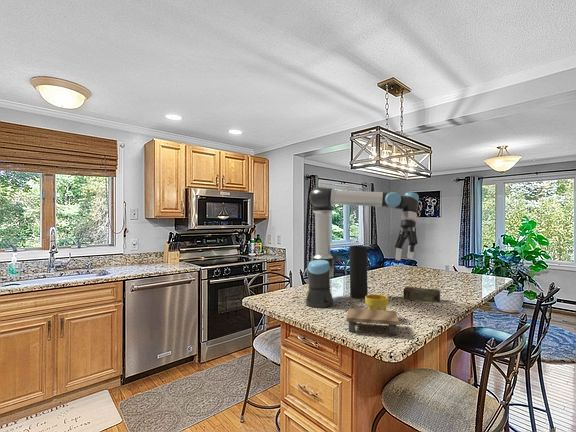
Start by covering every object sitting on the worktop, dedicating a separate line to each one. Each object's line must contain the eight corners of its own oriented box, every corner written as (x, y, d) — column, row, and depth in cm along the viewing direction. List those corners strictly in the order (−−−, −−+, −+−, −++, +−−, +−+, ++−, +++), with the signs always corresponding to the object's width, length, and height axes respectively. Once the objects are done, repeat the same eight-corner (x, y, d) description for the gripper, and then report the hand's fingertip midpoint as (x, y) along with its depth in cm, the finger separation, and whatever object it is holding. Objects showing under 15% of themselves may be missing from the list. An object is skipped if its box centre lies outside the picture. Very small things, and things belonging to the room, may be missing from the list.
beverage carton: (440, 303, 168) (440, 291, 168) (403, 300, 177) (402, 288, 177) (440, 300, 175) (440, 288, 175) (404, 297, 184) (404, 285, 184)
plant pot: (364, 320, 141) (363, 298, 141) (366, 313, 151) (366, 293, 151) (388, 322, 137) (387, 300, 138) (389, 315, 147) (388, 295, 147)
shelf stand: (346, 332, 125) (346, 317, 125) (349, 321, 139) (349, 308, 139) (399, 336, 120) (398, 321, 120) (396, 325, 133) (396, 311, 133)
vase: (346, 297, 185) (346, 246, 185) (355, 293, 193) (354, 245, 193) (362, 299, 178) (361, 247, 179) (370, 296, 186) (369, 246, 187)
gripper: (427, 217, 156) (423, 259, 151) (404, 226, 180) (399, 262, 176) (413, 214, 155) (408, 255, 151) (392, 223, 180) (387, 259, 175)
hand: (403, 259), depth 163 cm, fingers open, 13 cm apart
